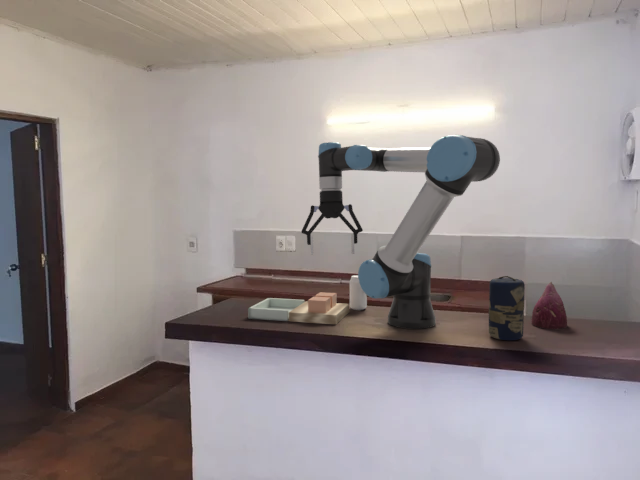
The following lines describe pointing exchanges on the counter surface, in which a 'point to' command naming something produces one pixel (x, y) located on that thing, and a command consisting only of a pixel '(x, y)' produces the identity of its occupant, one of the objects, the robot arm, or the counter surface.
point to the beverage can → (357, 294)
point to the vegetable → (549, 310)
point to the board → (319, 314)
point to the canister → (506, 308)
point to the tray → (273, 309)
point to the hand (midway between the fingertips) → (332, 254)
